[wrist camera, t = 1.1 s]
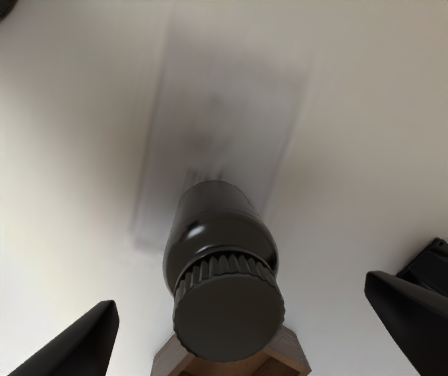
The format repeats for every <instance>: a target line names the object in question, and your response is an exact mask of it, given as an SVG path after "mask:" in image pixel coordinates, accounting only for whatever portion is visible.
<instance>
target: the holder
mask: <svg viewBox="0 0 448 376" xmlns="http://www.w3.org/2000/svg"><path fill="white" fill-rule="evenodd" d="M311 371H312V370H311V368H310V366H309V363H308V361H307V359H306V357H305V354H304V352H303V350H302V348H301V345H300V343H299V341H298V339H297V336H296V334H295V333H294V332H292V331H290V330H289V329H287V328H285V327H284V326H282V329H281V330H280V331H279V332H278V335H277V337H276V338H275V339H273V340H272V343H271V344H270V345H268V346H266V347H265V349H264V350H263V351H260V352H258V353H257V354H256V355H255V356H251V357H249V358H247V359H245V360H239V361H236V362H227V363H222V362H216V363H214V362H212V361H204V360H203V359H202V358H198V357H195V356H194V355H193V354H192V353H189V352H187V350H186V348H184V347H183V346H181V344H180V341H179V340H178V339H177V338H176V333H175V334H174V336H173V337H172V338H171V339H170V340H169V341H168V342H167V343H166V345H165V346H164V347H163V348H162V349H161V350H160V351H159V353H158V354H157V355H156V356H155V357H154V360H153V365H152V370H151V374H150V376H307V375H308V374H309V373H310V372H311Z"/></svg>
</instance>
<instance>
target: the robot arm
mask: <svg viewBox="0 0 448 376" xmlns="http://www.w3.org/2000/svg"><path fill="white" fill-rule="evenodd" d="M364 292H365V296H366V298H367V299H368V301H369V302H370V304H371V306H372V307H373V309H374V310H375V312H376V313H377V315H378V316H379V318H380V320H381V321H382V323H383V324H384V326H385V327H386V329H387V330H388V332H389V333H390V335H391V336H392V338H393V339H394V341H395V342H396V344H397V345H398V346H399V348H400V349H401V350H402V352H403V353H404V354H405V356H406V357H407V358H408V360H409V361H410V362H411V364H412V365H413V366H414V368H415V369H416V370H417V372H418V373H419V374H420V375H421V376H448V244H447V243H446V242H445V241H444V240H442V239H440V238H437V239H435V240H434V241H433V242H432V243H431V244H430V245H429V246H427V247H426V248H425V249H424V250H423V251H422V252H421V253H420V254H419V255H418V256H417V257H416V258H415V259H414V260H413V261H412V262H411V263H409V264H408V265H407V266H406V267H405V268H404V269H403V270H402V271H401V272H400V273H399V274H398V275H397V276H396V277H395V276H392V275H390V274H387V273H385V272H382V271H369V272H368V273H367V274H366V281H365V288H364ZM118 328H119V316H118V311H117V307H116V303H115V301H114V300H107V301H101V302H99V303H98V304H97V305H96V306H94V307H93V308H92V309H90V310H89V311H88V312H87V313H85V314H84V315H83V316H82V317H80V318H79V319H78V320H77V321H75V322H74V323H73V324H72V325H70V326H69V327H68V328H67V329H65V330H64V331H63V332H62V333H60V334H59V335H58V336H57V337H55V338H54V339H53V340H51V341H50V342H49V343H48V344H46V345H45V346H44V347H43V348H41V349H40V350H39V351H38V352H36V353H35V354H34V355H33V356H31V357H30V358H29V359H28V360H26V361H25V362H24V363H23V364H21V365H20V366H19V367H17V368H16V369H15V370H14V371H12V372H11V373H10V374H9V375H7V376H105V375H106V372H107V368H108V365H109V361H110V357H111V354H112V350H113V346H114V343H115V339H116V335H117V332H118Z"/></svg>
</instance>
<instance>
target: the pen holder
mask: <svg viewBox="0 0 448 376" xmlns="http://www.w3.org/2000/svg"><path fill="white" fill-rule="evenodd" d="M12 1H13V0H0V16H1V15H3V14H4V12H5V11H6V10H7V9H8V8H9V6H10V5H11V3H12Z"/></svg>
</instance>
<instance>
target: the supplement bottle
mask: <svg viewBox="0 0 448 376" xmlns="http://www.w3.org/2000/svg"><path fill="white" fill-rule="evenodd" d="M162 266H163V277H164V281H165V284H166V286H167V288H168V290H169V292H170V294H171V295H172V297H173V298H174V310H173V322H174V323H173V330H174V331H175V332H176V338H177V339H178V340H179V341H180V344H181V346H183V347H184V348H186V350H187V352H189V353H192V354H193V355H194V356H195V357H198V358H202V359H203V360H204V361H212V362H214V363H216V362H222V363H227V362H236V361H239V360H245V359H247V358H249V357H251V356H255V355H256V354H257V353H258V352H260V351H263V350H264V349H265V347H266V346H268V345H270V344H271V343H272V340H273V339H275V338H276V337H277V335H278V332H279V331H280V330H281V329H282V323H283V322H284V314H285V308H284V300H283V297H282V295H281V293H280V290H279V288H278V285H277V283H276V277H277V274H278V268H279V255H278V249H277V246H276V243H275V241H274V239H273V237H272V235H271V233H270V232H269V230H268V229H267V227H266V226H265V224H264V223H263V221H262V220H261V218H260V217H259V215H258V214H257V212H256V211H255V209H254V208H253V206H252V205H251V204H250V202H249V201H248V199H247V198H246V196H245V195H244V194H243V193H242V192H241V191H240V190H239V189H238V188H237V187H236V186H234V185H232V184H230V183H228V182H225V181H219V180H210V181H205V182H201V183H199V184H197V185H195V186H193V187H192V188H191V189H189V190H188V191H187V192H186V193H185V195H184V196H183V197H182V199H181V201H180V203H179V205H178V208H177V211H176V215H175V218H174V221H173V225H172V228H171V231H170V235H169V238H168V241H167V245H166V248H165V252H164V257H163V265H162Z"/></svg>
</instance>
